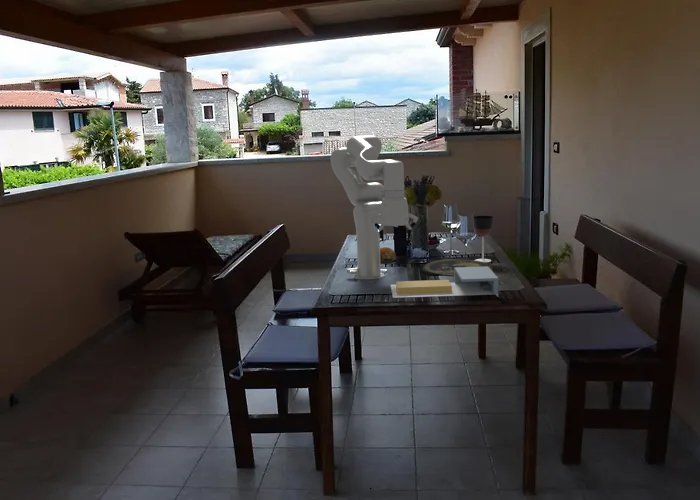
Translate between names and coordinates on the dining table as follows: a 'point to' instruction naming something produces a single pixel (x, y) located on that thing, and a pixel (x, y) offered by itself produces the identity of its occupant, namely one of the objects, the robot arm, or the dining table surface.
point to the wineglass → (483, 230)
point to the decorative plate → (450, 266)
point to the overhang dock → (464, 283)
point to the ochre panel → (423, 286)
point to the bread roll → (387, 254)
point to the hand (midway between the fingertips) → (395, 240)
